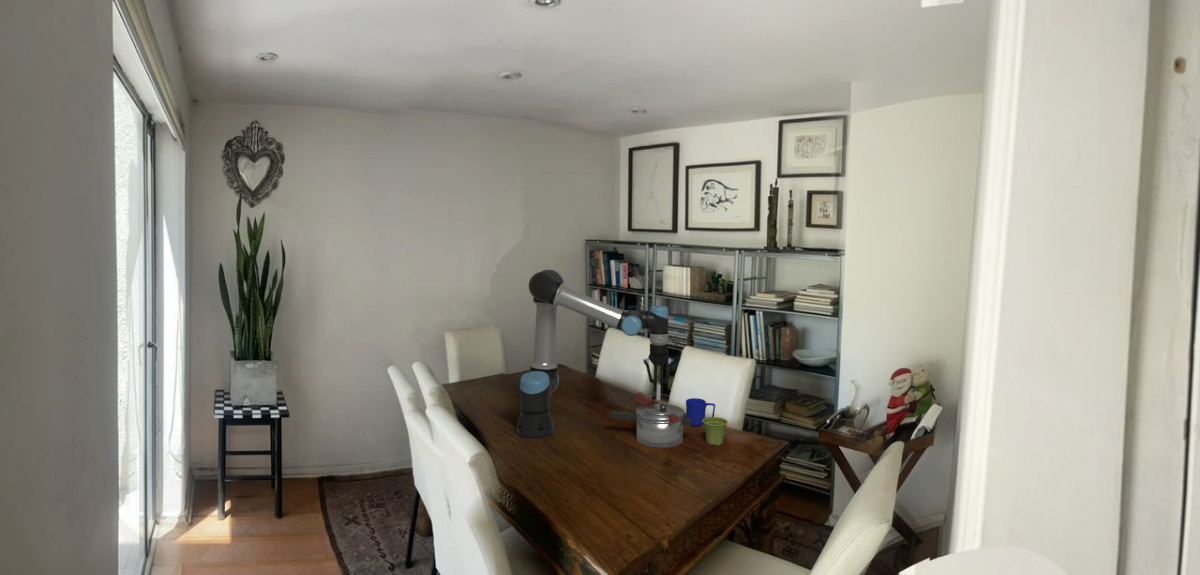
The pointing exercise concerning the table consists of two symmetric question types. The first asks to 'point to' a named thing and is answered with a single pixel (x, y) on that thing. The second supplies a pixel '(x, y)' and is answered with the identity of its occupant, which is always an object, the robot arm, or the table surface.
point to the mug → (697, 410)
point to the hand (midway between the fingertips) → (658, 399)
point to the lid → (657, 410)
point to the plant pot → (715, 430)
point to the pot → (656, 430)
